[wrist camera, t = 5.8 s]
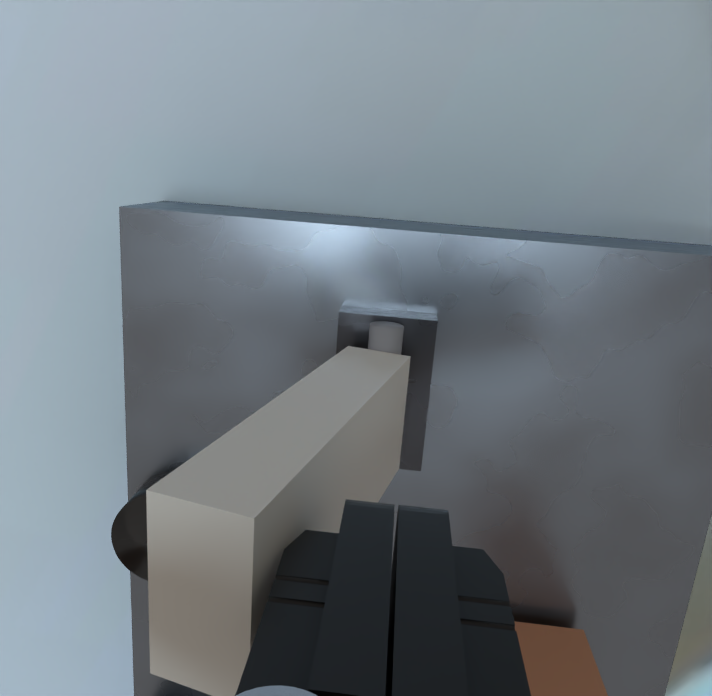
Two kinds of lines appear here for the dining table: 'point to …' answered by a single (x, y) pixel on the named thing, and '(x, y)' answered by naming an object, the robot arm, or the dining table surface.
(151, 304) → the panel
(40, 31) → the dining table surface
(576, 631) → the slider knob
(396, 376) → the lever
